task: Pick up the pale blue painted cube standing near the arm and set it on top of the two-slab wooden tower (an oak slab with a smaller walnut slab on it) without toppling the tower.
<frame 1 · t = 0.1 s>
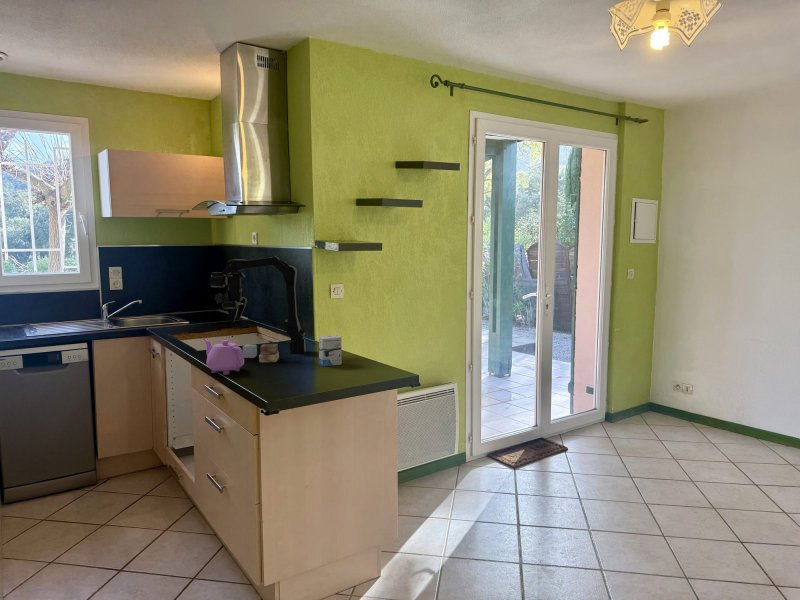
hand: (235, 321, 255), 15 cm above the countertop, fingers open, 9 cm apart
oak base slab: (269, 361, 240), on the countertop, touching walnut mid slab
ink box: (330, 364, 233), on the countertop
teapot: (224, 371, 221), on the countertop
pale blue cube: (250, 356, 248), on the countertop
walnut mid slab: (269, 353, 240), point 3 cm above the countertop, touching oak base slab
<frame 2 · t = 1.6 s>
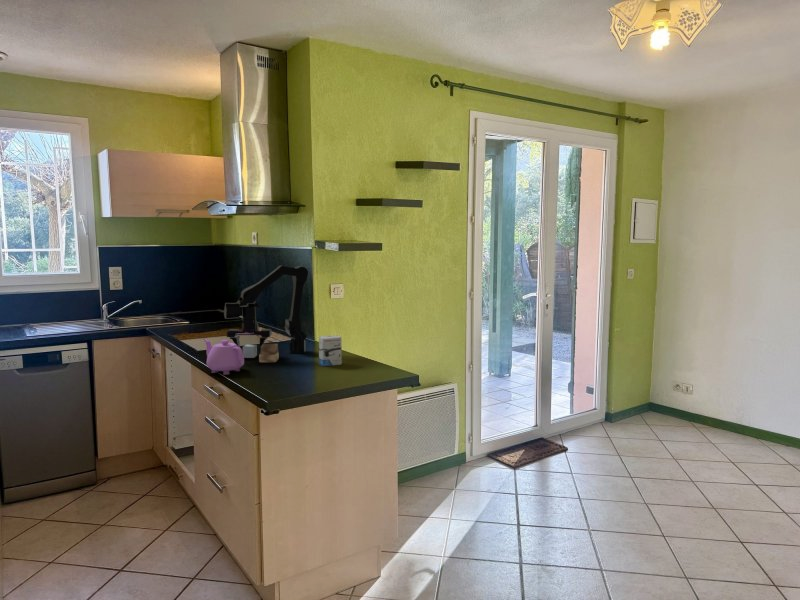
hand: (250, 352, 248), 2 cm above the countertop, fingers open, 9 cm apart
nothing on the countertop moved.
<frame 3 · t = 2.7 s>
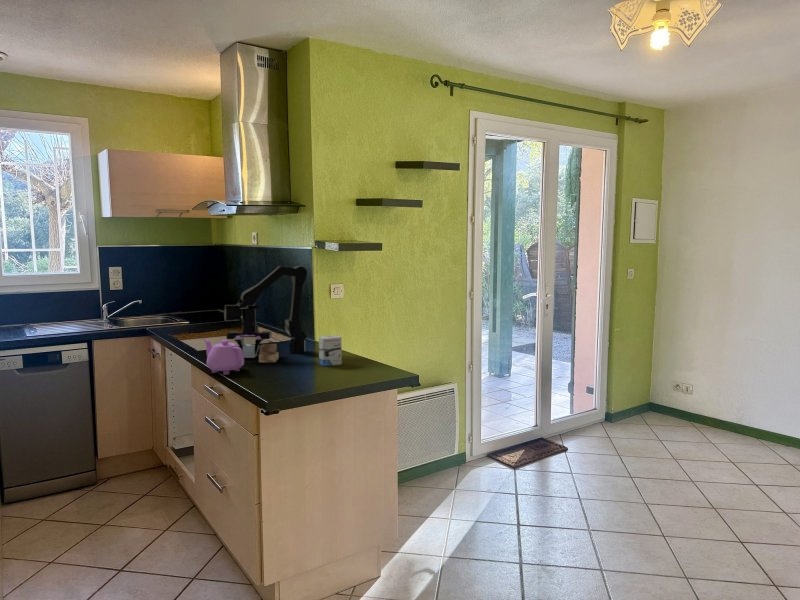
hand: (249, 354, 248), 1 cm above the countertop, fingers closed on pale blue cube, 5 cm apart
pale blue cube: (250, 356, 248), on the countertop, touching gripper
everything else where it was.
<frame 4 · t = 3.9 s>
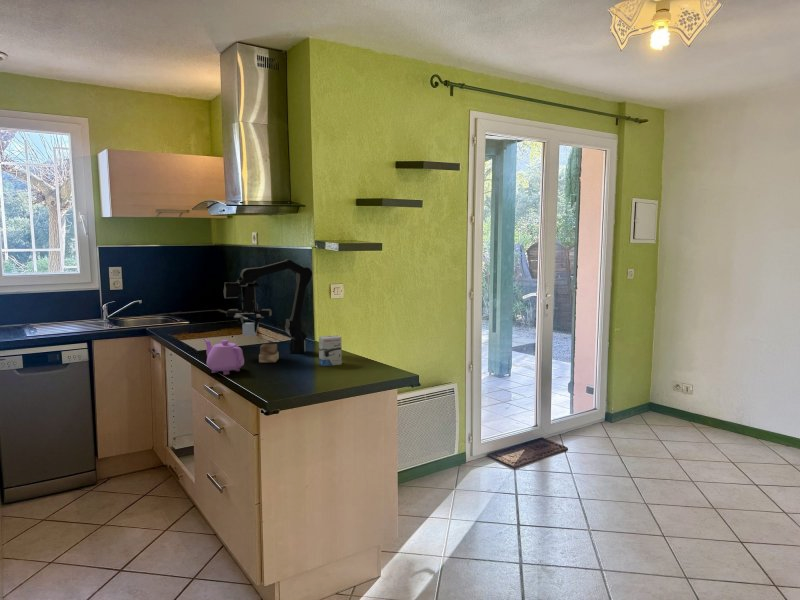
hand: (249, 332, 246), 11 cm above the countertop, fingers closed on pale blue cube, 5 cm apart
oak base slab: (269, 361, 240), on the countertop
pale blue cube: (249, 334, 246), point 10 cm above the countertop, touching gripper
walnut mid slab: (268, 353, 240), point 3 cm above the countertop
everything else where it was.
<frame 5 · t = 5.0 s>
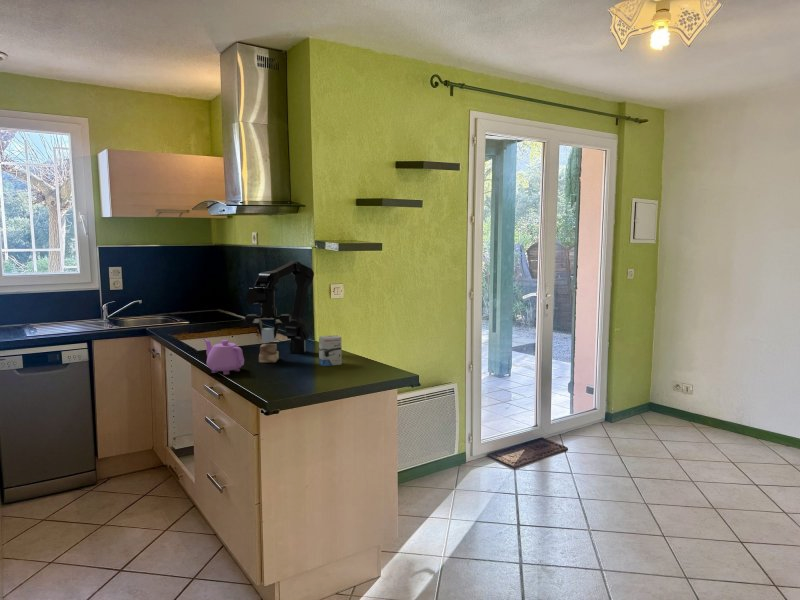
hand: (268, 338, 239), 10 cm above the countertop, fingers closed on pale blue cube, 5 cm apart
pale blue cube: (268, 340, 239), point 9 cm above the countertop, touching gripper
everything else where it was.
when the fingers open (9 cm above the countertop, at t = 5.5 s): pale blue cube drops 1 cm, resting on walnut mid slab.
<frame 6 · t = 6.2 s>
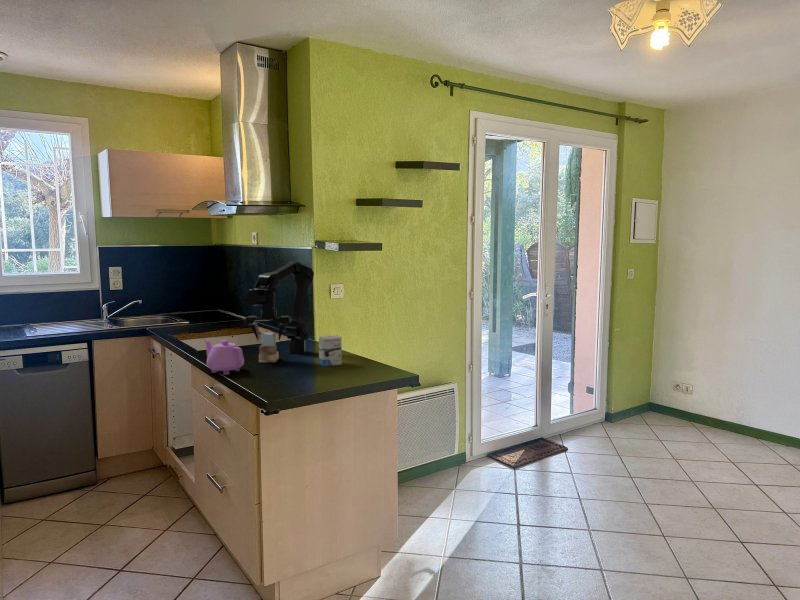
hand: (268, 339, 239), 9 cm above the countertop, fingers open, 9 cm apart
oak base slab: (268, 361, 240), on the countertop, touching walnut mid slab
pale blue cube: (268, 345, 239), point 7 cm above the countertop, touching walnut mid slab
walnut mid slab: (268, 353, 240), point 3 cm above the countertop, touching oak base slab, pale blue cube
everything else where it was.
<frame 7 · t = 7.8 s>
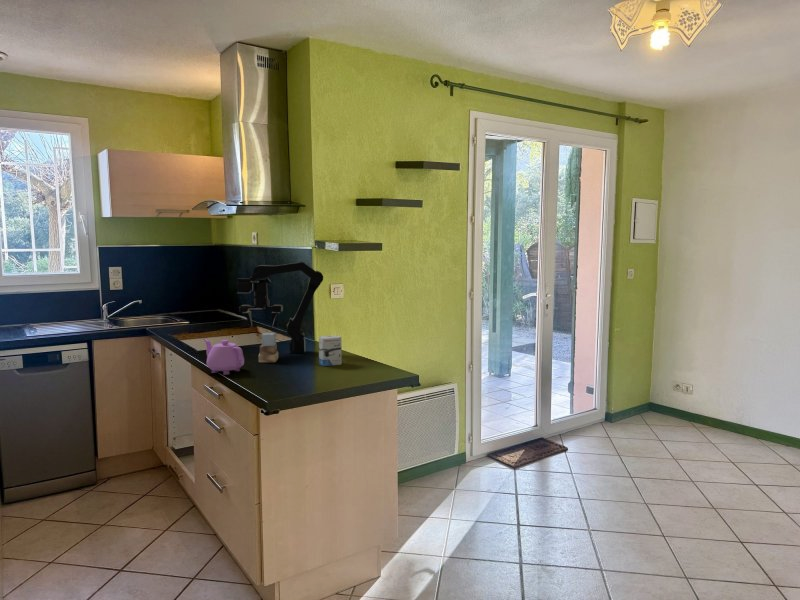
hand: (261, 327, 253), 12 cm above the countertop, fingers open, 9 cm apart
pale blue cube: (269, 344, 239), point 7 cm above the countertop
walnut mid slab: (268, 353, 240), point 3 cm above the countertop, touching oak base slab
everything else where it was.
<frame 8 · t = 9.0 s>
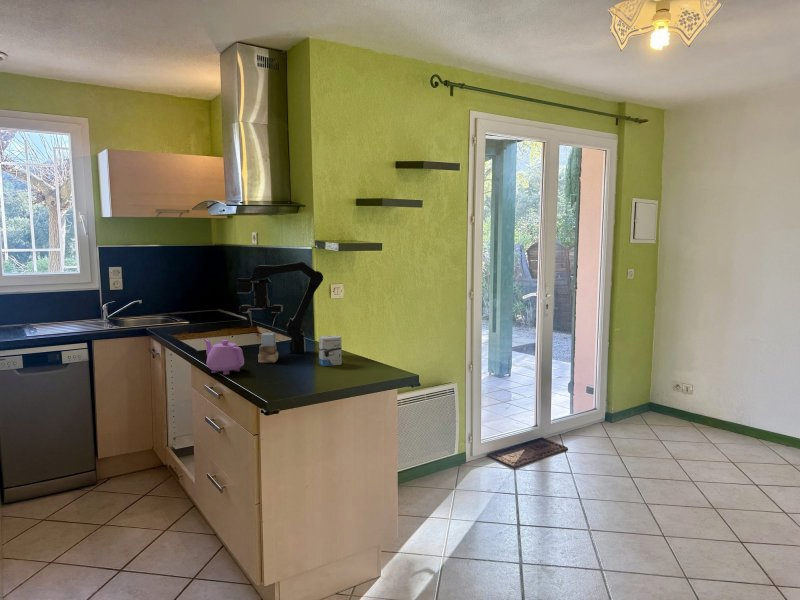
hand: (261, 327, 254), 12 cm above the countertop, fingers open, 9 cm apart
pale blue cube: (268, 345, 239), point 7 cm above the countertop, touching walnut mid slab
walnut mid slab: (268, 353, 239), point 3 cm above the countertop, touching oak base slab, pale blue cube
everything else where it was.
at the end: pale blue cube 0.3 cm off-centre on the oak base slab, point 7.0 cm above the oak base slab's base; walnut mid slab 0.3 cm off-centre on the oak base slab, point 3.5 cm above the oak base slab's base; pale blue cube tilted 0° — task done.
